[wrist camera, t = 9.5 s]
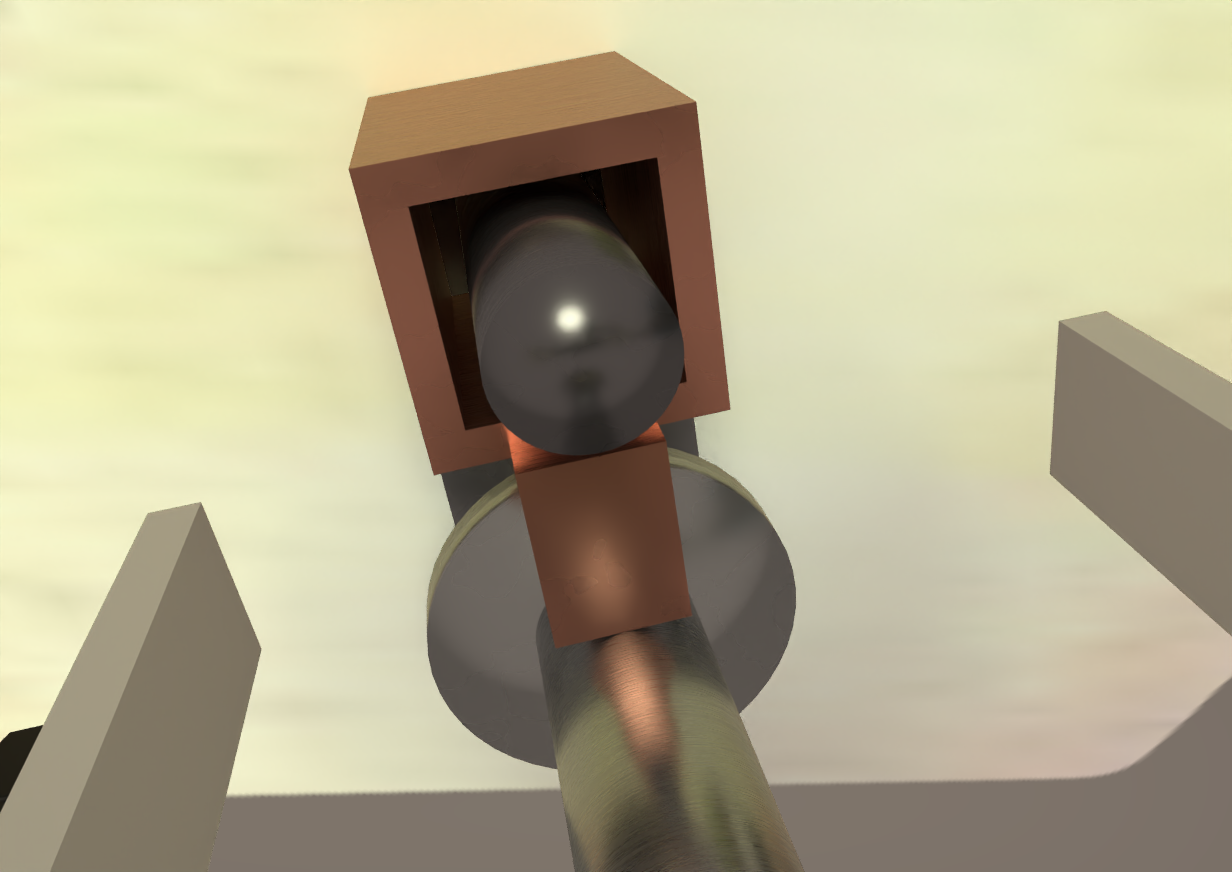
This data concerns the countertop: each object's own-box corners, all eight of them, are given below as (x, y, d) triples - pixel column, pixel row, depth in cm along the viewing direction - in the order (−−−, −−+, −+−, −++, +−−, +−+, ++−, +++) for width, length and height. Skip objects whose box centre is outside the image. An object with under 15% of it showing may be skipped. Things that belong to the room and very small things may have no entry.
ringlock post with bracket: (670, 40, 31) (1962, 613, 5) (734, 576, 40) (1294, 1710, 15) (308, 108, 30) (-345, 1232, 4) (462, 640, 39) (552, 1973, 14)
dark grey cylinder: (569, 119, 31) (670, 244, 19) (590, 243, 33) (695, 431, 21) (441, 144, 31) (459, 288, 18) (470, 268, 33) (504, 474, 20)
